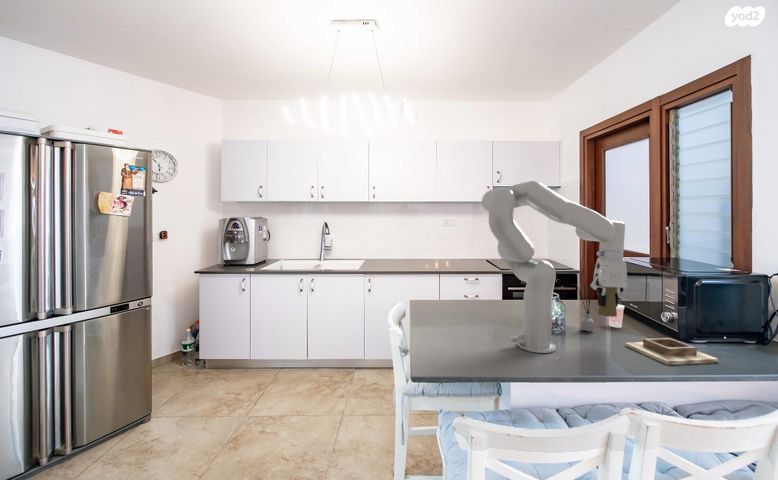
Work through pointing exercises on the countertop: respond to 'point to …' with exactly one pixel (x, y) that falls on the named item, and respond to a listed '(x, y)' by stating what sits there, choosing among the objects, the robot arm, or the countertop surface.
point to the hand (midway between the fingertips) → (607, 305)
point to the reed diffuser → (587, 317)
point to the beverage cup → (617, 317)
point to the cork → (609, 303)
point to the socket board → (670, 351)
